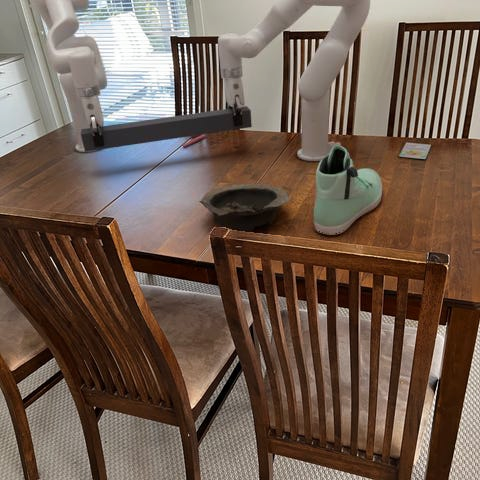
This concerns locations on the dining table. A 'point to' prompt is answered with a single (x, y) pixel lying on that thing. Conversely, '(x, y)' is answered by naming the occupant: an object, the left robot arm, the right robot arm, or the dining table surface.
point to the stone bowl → (244, 205)
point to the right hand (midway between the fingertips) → (235, 122)
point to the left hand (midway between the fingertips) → (99, 142)
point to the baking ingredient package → (415, 150)
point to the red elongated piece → (194, 140)
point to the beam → (165, 128)
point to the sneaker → (343, 192)
